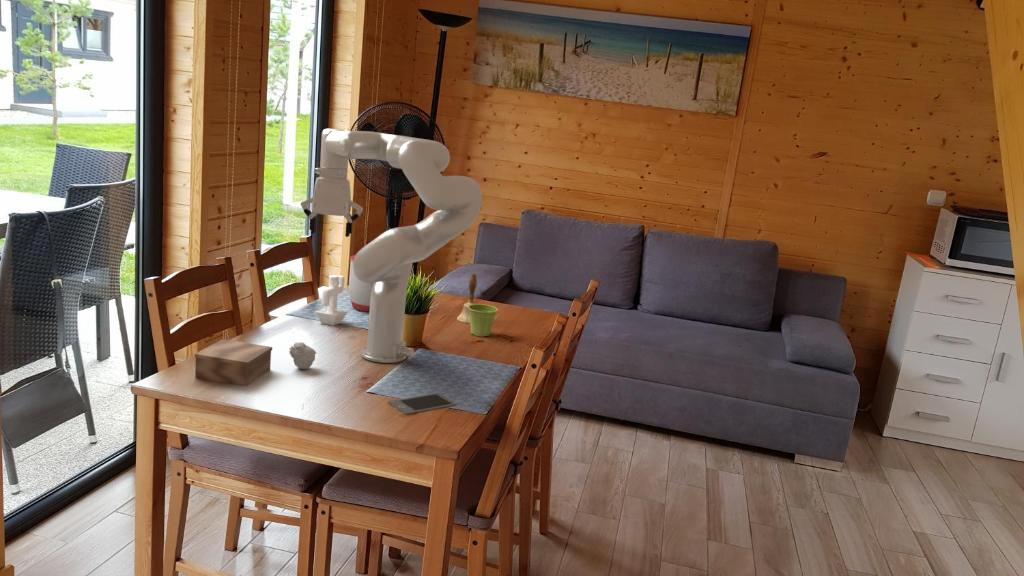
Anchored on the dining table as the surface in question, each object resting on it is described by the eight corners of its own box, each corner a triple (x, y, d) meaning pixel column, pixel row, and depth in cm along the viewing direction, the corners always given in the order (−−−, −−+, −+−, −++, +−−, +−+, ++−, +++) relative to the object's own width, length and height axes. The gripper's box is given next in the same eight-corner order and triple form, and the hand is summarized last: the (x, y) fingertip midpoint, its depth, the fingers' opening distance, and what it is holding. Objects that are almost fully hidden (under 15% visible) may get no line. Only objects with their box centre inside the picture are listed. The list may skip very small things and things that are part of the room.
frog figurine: (285, 365, 211) (286, 339, 210) (312, 364, 214) (314, 338, 213) (290, 373, 206) (292, 347, 204) (318, 371, 209) (320, 346, 208)
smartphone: (438, 394, 204) (438, 392, 204) (457, 406, 198) (457, 403, 198) (386, 404, 194) (386, 401, 194) (405, 416, 188) (405, 413, 188)
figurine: (312, 323, 250) (315, 276, 246) (329, 317, 258) (332, 271, 255) (332, 328, 247) (336, 280, 244) (349, 321, 256) (352, 275, 253)
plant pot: (494, 340, 255) (497, 313, 253) (464, 336, 255) (467, 309, 253) (495, 331, 264) (498, 306, 262) (466, 328, 264) (469, 302, 262)
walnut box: (271, 369, 207) (272, 347, 206) (246, 386, 194) (247, 362, 193) (221, 361, 209) (222, 339, 207) (193, 377, 196) (194, 353, 194)
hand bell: (454, 316, 277) (458, 270, 273) (477, 317, 279) (482, 271, 276) (459, 323, 269) (464, 276, 265) (484, 324, 272) (489, 277, 268)
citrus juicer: (343, 313, 265) (347, 253, 260) (348, 300, 282) (352, 243, 277) (391, 317, 267) (396, 257, 262) (394, 304, 283) (399, 247, 279)
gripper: (299, 172, 224) (296, 233, 227) (362, 178, 224) (358, 239, 228) (305, 169, 231) (302, 229, 235) (366, 175, 232) (363, 235, 235)
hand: (330, 234), depth 231 cm, fingers open, 9 cm apart
